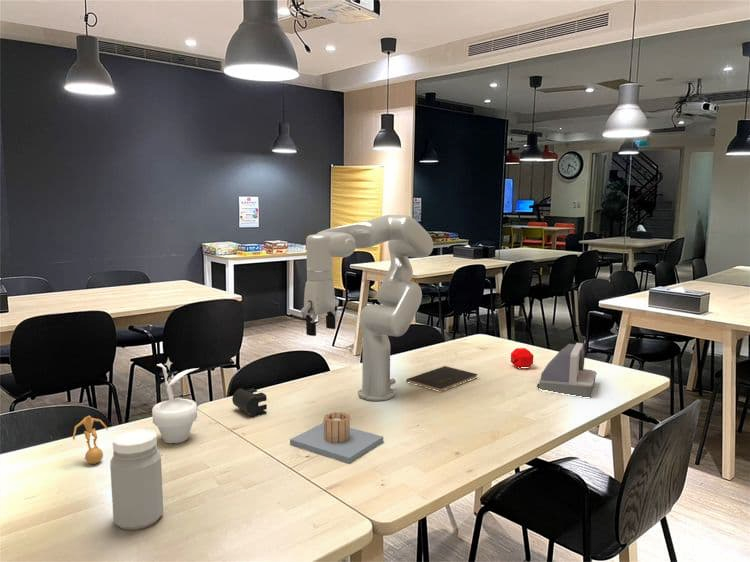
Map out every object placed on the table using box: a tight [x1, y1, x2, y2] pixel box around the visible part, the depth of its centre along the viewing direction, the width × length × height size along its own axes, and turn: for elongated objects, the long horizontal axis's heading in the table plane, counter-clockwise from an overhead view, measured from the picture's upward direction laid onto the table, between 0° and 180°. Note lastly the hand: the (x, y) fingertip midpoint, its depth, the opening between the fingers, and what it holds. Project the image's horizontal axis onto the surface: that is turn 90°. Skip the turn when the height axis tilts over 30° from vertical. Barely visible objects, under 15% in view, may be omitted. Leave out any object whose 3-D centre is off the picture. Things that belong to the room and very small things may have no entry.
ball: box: [510, 347, 534, 368], centre depth 227 cm, size 8×8×8 cm
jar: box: [109, 428, 164, 531], centre depth 115 cm, size 10×10×18 cm
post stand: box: [289, 419, 384, 464], centre depth 153 cm, size 16×20×6 cm
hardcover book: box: [405, 365, 479, 392], centre depth 210 cm, size 16×23×2 cm
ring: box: [323, 411, 351, 443], centre depth 153 cm, size 7×7×6 cm
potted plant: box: [151, 357, 200, 445], centre depth 154 cm, size 13×12×25 cm
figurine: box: [72, 415, 109, 465], centre depth 141 cm, size 8×6×12 cm
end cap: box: [231, 387, 268, 418], centre depth 176 cm, size 10×7×7 cm
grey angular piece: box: [536, 342, 597, 398], centre depth 203 cm, size 21×21×15 cm
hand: (321, 331), depth 169 cm, fingers open, 9 cm apart
